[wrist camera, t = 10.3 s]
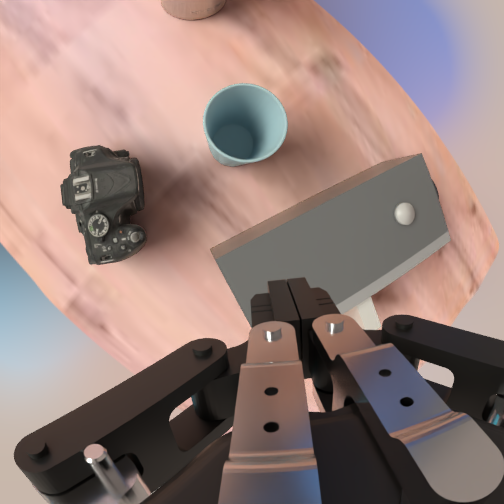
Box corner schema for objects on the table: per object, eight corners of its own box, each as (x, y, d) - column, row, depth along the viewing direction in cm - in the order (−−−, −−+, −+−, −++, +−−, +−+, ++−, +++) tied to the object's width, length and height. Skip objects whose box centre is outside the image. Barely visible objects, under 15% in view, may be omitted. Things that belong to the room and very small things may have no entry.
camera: (178, 225, 38) (173, 229, 28) (111, 269, 37) (86, 287, 27) (124, 132, 35) (104, 108, 25) (60, 178, 34) (22, 168, 24)
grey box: (209, 249, 38) (215, 260, 29) (387, 159, 41) (431, 149, 32) (252, 327, 41) (269, 360, 31) (415, 231, 43) (460, 236, 34)
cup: (242, 188, 38) (260, 178, 28) (188, 155, 37) (186, 133, 27) (274, 137, 38) (301, 112, 28) (222, 104, 37) (232, 69, 27)
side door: (326, 281, 41) (351, 293, 34) (391, 241, 42) (423, 247, 35) (342, 318, 42) (367, 335, 35) (403, 277, 43) (434, 287, 36)
